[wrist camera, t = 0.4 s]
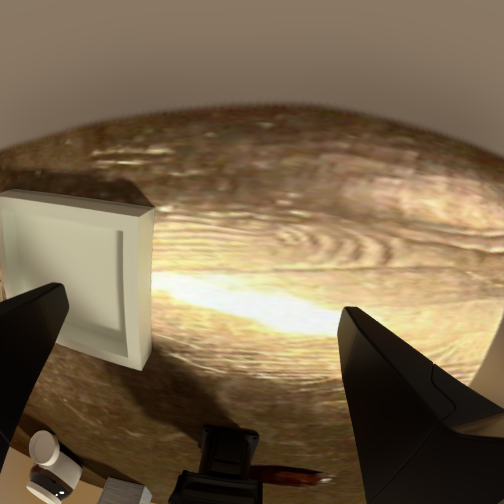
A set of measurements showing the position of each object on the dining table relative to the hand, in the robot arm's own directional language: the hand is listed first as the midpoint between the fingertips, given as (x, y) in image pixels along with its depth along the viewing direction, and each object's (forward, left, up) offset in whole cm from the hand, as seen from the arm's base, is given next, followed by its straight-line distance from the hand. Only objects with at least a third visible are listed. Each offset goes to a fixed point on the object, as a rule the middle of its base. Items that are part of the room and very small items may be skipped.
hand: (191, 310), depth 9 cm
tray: (-8, +15, -14) cm, 22 cm away
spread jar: (-48, +28, -15) cm, 57 cm away
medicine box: (-53, +14, -15) cm, 57 cm away
